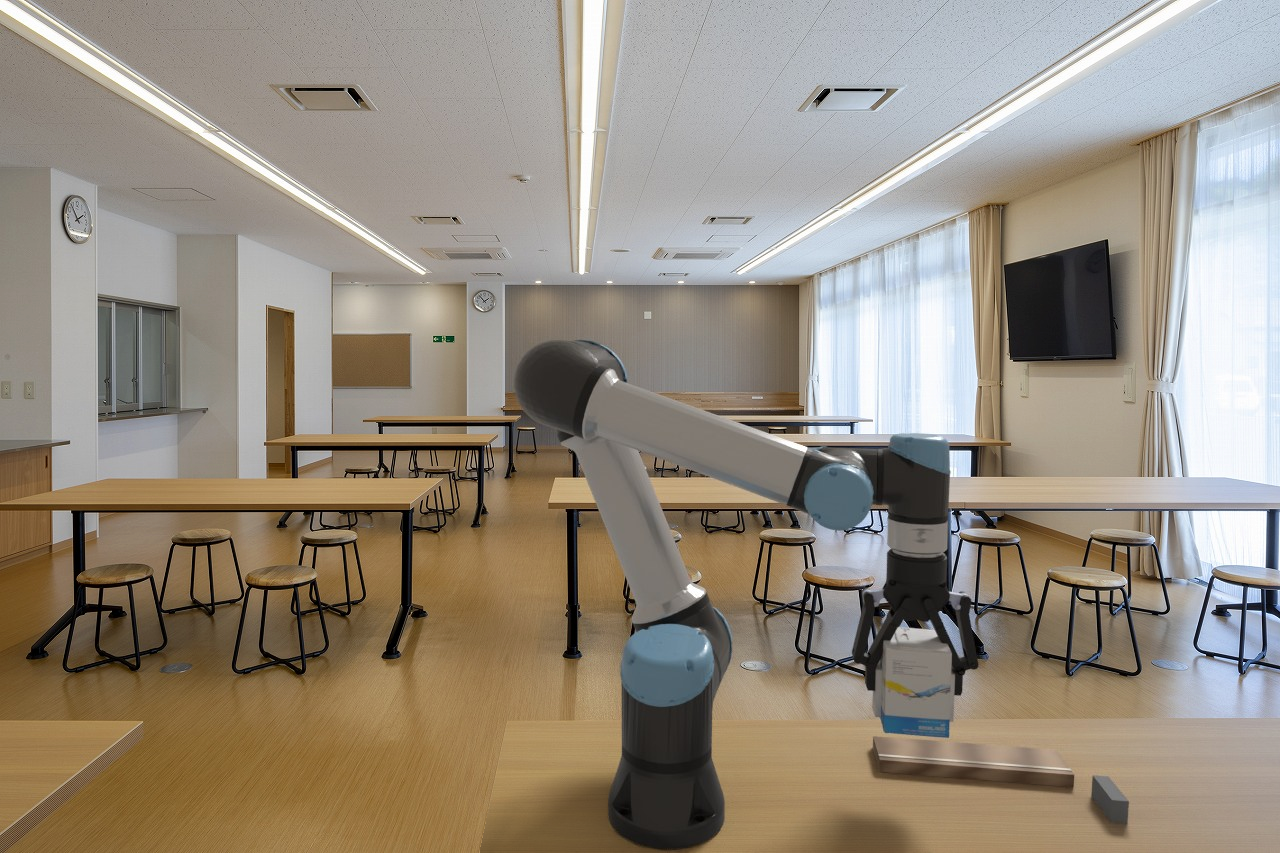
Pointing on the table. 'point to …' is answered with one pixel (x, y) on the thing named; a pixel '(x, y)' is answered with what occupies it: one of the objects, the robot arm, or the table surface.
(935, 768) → the board
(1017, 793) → the table surface
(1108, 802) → the block
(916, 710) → the ink box
